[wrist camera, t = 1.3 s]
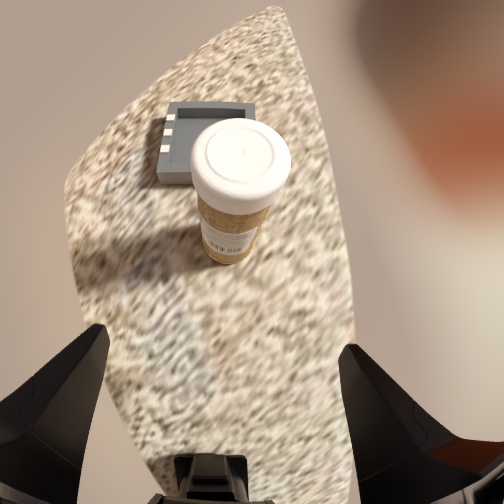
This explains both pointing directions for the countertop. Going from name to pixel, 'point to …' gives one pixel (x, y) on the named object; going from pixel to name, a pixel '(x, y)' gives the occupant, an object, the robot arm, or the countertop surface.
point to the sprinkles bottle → (236, 183)
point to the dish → (191, 134)
